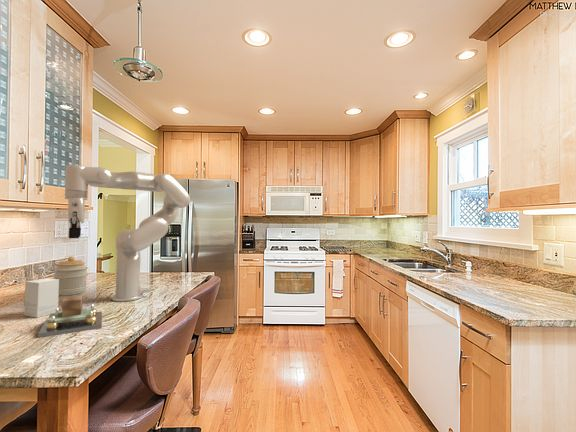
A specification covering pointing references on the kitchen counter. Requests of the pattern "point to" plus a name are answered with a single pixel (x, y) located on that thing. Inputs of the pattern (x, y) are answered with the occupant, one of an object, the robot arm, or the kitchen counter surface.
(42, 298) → the supplement box
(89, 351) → the kitchen counter surface
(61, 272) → the jar
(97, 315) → the standoff base
